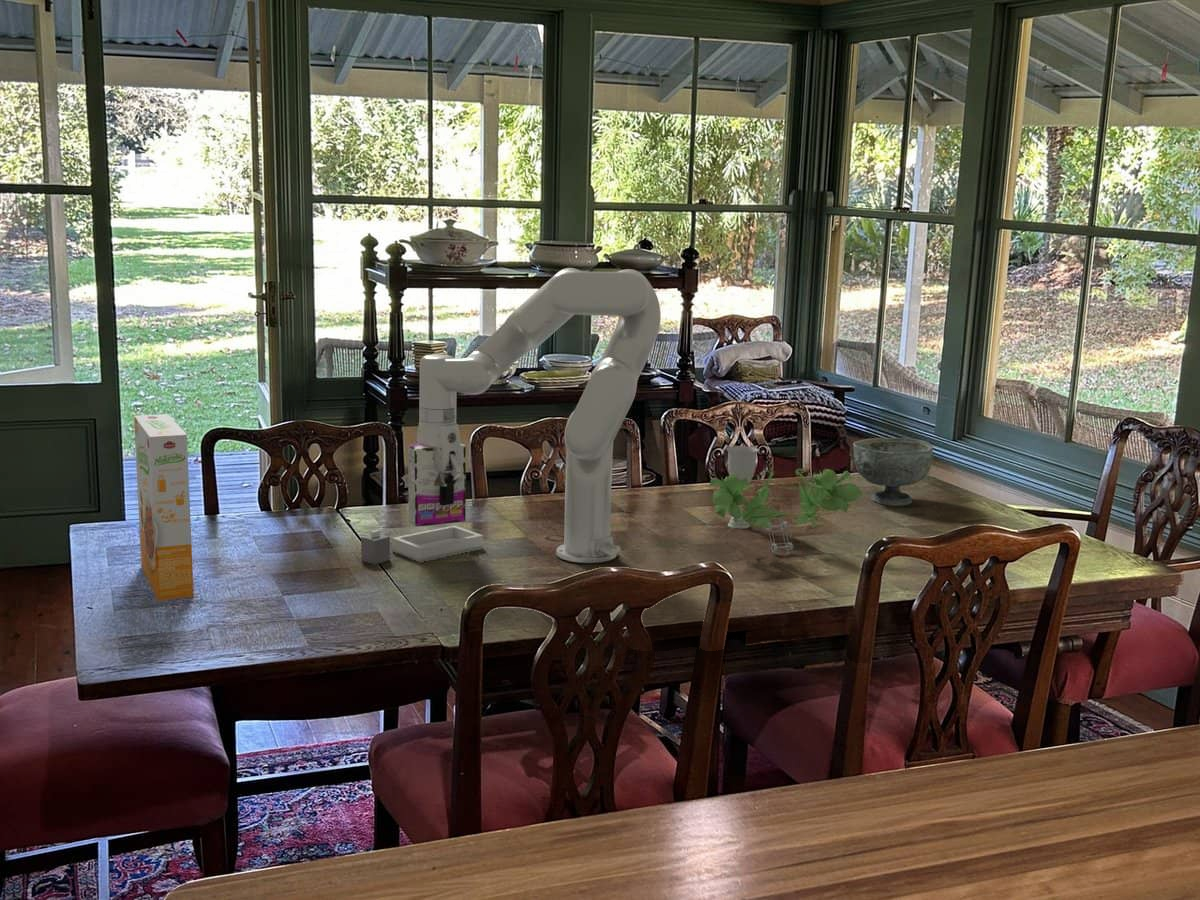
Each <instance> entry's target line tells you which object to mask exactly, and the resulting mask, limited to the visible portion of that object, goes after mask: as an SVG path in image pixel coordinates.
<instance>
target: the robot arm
mask: <svg viewBox="0 0 1200 900" xmlns="http://www.w3.org/2000/svg"><path fill="white" fill-rule="evenodd" d="M575 315H579V316H606V317H607V316H608V317H609V316H611V317H618V318H617V323H616V326H615V328H614V330H613V332H612V334H611V336H610V339H609V342H608V344H607V346H606V348H605V350H603V351H604V352H603V353H602V355H601V357H600V359H599V361H598V363H597V364H596V365H595V367H594V368H593V369H592V371H591V373H590V375H589V380H588V382H587V384H586V386H585V388H584V390H583V393H582V395H581V396H580V398H579V401H578V403H577V404H576V407H575V408H574V410H573V411H572V412H571V414H570V415H569V417H568V419H567V421H566V425H565V429H564V435H563V436H564V437H563V438H564V439H563V440H564V444H565V447H566V451H565V452H566V453H565V455H566V456H565V483H564V484H565V485H564V533H563V538H564V539H563V544H561V545H559V546H557V548H556V556H557V557H558V558H560V559H561V560H565V561H567V562H573V563H580V564H597V563H598V564H599V563H605V562H609V561H612V560H614V559H616V558H617V555H618V553H620V552H621V546H619V545H616V544H614V536H611V513H612V512H611V511H612V510H611V508H612V506H611V505H612V482H613V481H612V479H613V453H614V450H613V449H614V440H615V439H616V436H617V434H618V433H619V431H620V428H621V427H622V424H623V422H624V420H625V418H626V416H627V414H628V413H629V410H630V408H631V406H632V404H633V401H634V400H635V397H636V394H637V393H636V392H637V387H638V380H639V377H640V375H641V374H642V371H643V369H644V368H645V366H646V363H647V361H648V358H649V356H650V354H651V352H652V350H653V347H654V345H655V344H656V343H655V342H656V340H657V338H658V334H659V332H660V327H661V315H662V314H661V306H660V301H659V298H658V295H657V293H656V291H655V290H654V287H653V286H652V284H651V283H650V281H649V280H648V278H646V276H645V275H644V274H642V273H641V271H637V270H635V269H632V268H631V269H630V268H627V269H625V268H624V269H622V270H619V271H585V270H584V271H583V270H580V269H578V268H574V267H567V268H563V269H561V270H559V271H558V272H556V274H554V275H553V276H552V277H551V278H550V279H549V280H548V281H546V282H545V283H544V284H543V285H542V286H541V287H539V288H538V289H537V290H536V291H535V292H534V293H533V294H532V295H531V296H529V297H528V298H527V299H526V300H525V301H524V302H523V303H522V304H520V305H519V306H518V307H517V308H516V309H515V310H513V312H511V313H510V315H509V316H508V317H507V318H506V319H505V321H504V322H503V323H502V324H501V325H500V326H499V328H497V330H495V332H493V333H492V334H491V335H490V336H489V337H488V338H487V339H486V340H485V341H483V342H482V343H481V344H480V345H479V346H478V347H476V349H474V350H473V351H472V352H471V353H470V354H468V356H466V357H465V358H455V357H454V356H453V355H452V356H451V355H449V354H448V355H447V354H440V353H439V354H435V353H434V354H427V355H424V356H422V357H421V358H420V360H419V402H418V403H419V406H418V408H419V409H418V410H419V411H418V412H419V414H418V415H419V418H418V419H419V422H418V427H417V435H416V445H418V444H421V445H425V446H428V447H432V448H433V458H434V467H435V471H437V472H439V473H440V478H441V483H442V486H440V505H448V504H453V503H454V485H456V481H457V480H458V477H459V476H460V475H461V474H462V470H461V433H460V429H459V424H458V423H457V399H458V398H457V395H458V394H457V393H459V394H465V395H473V396H475V395H480V394H483V393H484V392H486V391H487V390H488V389H489V388H490V387H491V386H492V384H493V383H494V382H495V381H496V380H497V379H498V378H500V377H501V375H502V374H504V373H505V372H506V371H507V370H508V369H509V368H510V367H512V365H514V364H515V363H516V362H517V361H518V360H520V359H521V358H522V357H523V356H524V355H526V354H527V353H528V352H531V351H533V350H535V349H536V348H538V347H539V346H541V345H542V344H543V343H544V342H546V340H548V339H549V338H550V337H551V336H552V335H553V334H554V333H555V332H556V331H558V330H559V329H560V328H561V327H562V326H563V325H564V324H566V323H567V322H568V321H569V320H570V319H571V318H572V317H573V316H575ZM446 468H449V470H446ZM445 474H449V476H448V477H447V479H446V476H445Z"/></svg>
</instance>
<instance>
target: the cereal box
mask: <svg viewBox="0 0 1200 900" xmlns="http://www.w3.org/2000/svg"><path fill="white" fill-rule="evenodd" d="M133 424H134V425H133V426H134V443H135V444H134V445H135V446H134V447H135V463H136V464H135V465H136V467H135V468H136V482H137V484H136V485H137V487H136V488H137V501H138V503H137V504H138V523H139V524H138V525H139V541H140V543H139V544H140V545H139V546H140V547H139V548H140V563H141V564H140V565H141V568H142V570H143V574H144V575H145V577H146V579H147V581H148V583H149V585H150V587H151V590H152V593H153V594H154V596H155V598H156V600H157V601H164V600H173V599H182V598H190V597H194V595H195V594H194V593H195V592H194V575H193V573H194V572H193V571H194V570H193V568H194V566H193V551H192V550H193V547H192V525H191V524H192V523H191V502H190V501H191V500H190V499H191V498H190V479H189V478H190V475H189V472H190V471H189V456H188V455H189V454H188V453H189V452H188V451H189V450H188V448H189V447H188V434H187V433H186V432H185V431H184V430H183V428H181V426H180V425H179V424H178V423H177V422H176V421H175V420H174V419H173V418H172V416H171V415H170V414H169V413H163V414H162V413H160V414H159V413H158V414H142V415H141V414H139V415H133Z"/></svg>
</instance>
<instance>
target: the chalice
mask: <svg viewBox="0 0 1200 900" xmlns="http://www.w3.org/2000/svg"><path fill="white" fill-rule="evenodd" d="M726 450H727V453H728V462H727V472H728V474H729V475H728V476H730V475H731V474H737V477H738V478H739V479H740V480H741V481H742V480H743V479H745V478H747V480H748V483H749V484H750V482H751V481H752V479H753V478H754V477H753V476H754V475H755V472H756V463H757V462H756V461H757V454H758V453H759V448H757V447H752V446H746V445H745V446H743V445H733V446H728V447H726ZM743 491H744V490H743ZM743 491H742V492H741V493H740V494H742V495H744V494H743ZM738 506H739V508H740V510H741V517H740V518H739V519H738V521H737V522H736V523H735V522H734V517H732V516H731V518H730V519H729V522H728V523H727V526H728V527H730V528H733V527H734V526H735V525H736V526H735V527H734V528H733V529H748V528H750V526H751V524H749V523H747V522H746V521H745V520H743V519H742V515H743V511H742V509H743V507H744V504H742V505H738ZM736 520H737V519H736ZM741 521H744V522H741ZM738 522H741V523H739V524H738Z"/></svg>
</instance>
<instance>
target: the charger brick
mask: <svg viewBox="0 0 1200 900" xmlns="http://www.w3.org/2000/svg"><path fill="white" fill-rule="evenodd" d="M380 532H381V530H379V529H376V530H371V531H370V534H367V535H364V536H361V537H360V540H361V541H360V548H361V551H360V553H361V555H360V556H361V557H360V559H361V560H360V561H361V562H365V563H369V564H372V565H378V564H381V563H385V561H386V562H388V560H389V561H390V560H391V559H390V558H391V555H390V554H391V553H390V552H391V550H390V549H391V547H390V546H391V544H390V543H391V541H390V540H391V539H390V535H389V536H388V535H385V534H381V533H380Z"/></svg>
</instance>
